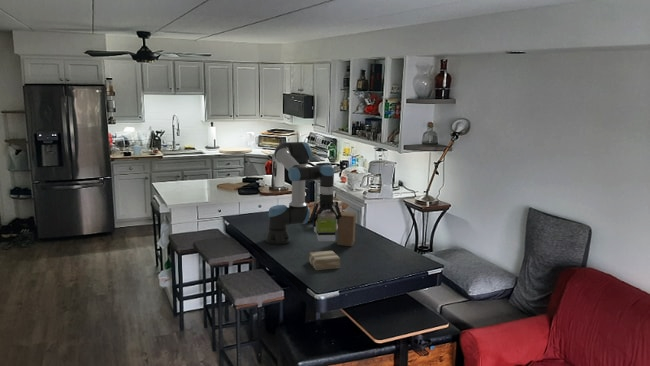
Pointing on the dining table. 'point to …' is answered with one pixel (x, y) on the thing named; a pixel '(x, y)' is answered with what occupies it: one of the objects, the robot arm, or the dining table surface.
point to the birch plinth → (324, 260)
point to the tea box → (326, 226)
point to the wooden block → (346, 229)
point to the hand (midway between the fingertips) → (325, 230)
